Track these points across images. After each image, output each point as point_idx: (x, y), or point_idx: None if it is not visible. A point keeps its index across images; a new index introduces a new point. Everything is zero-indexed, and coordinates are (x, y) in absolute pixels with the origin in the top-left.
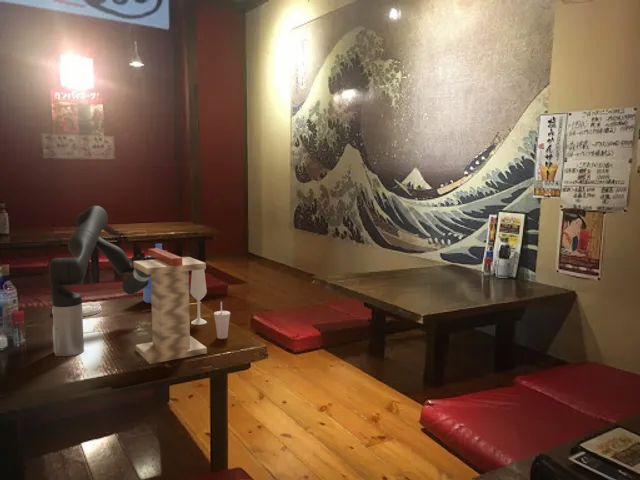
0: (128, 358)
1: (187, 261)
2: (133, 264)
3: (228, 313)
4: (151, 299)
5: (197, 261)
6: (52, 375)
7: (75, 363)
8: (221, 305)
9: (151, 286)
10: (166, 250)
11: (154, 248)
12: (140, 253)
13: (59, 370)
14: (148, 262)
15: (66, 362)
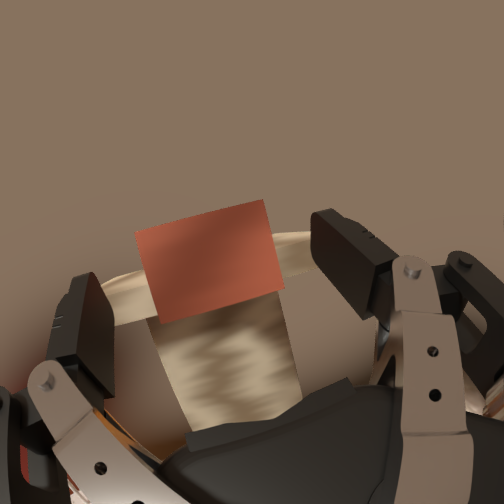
0: None
1: (138, 275)
2: (471, 348)
3: (75, 495)
4: (302, 397)
5: (114, 280)
6: (462, 370)
7: (465, 407)
8: (73, 486)
9: (290, 351)
10: (85, 275)
11: (184, 218)
12: (348, 220)
13: (467, 382)
14: (274, 241)
15: (484, 405)
